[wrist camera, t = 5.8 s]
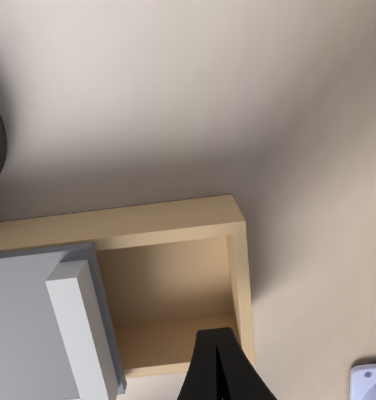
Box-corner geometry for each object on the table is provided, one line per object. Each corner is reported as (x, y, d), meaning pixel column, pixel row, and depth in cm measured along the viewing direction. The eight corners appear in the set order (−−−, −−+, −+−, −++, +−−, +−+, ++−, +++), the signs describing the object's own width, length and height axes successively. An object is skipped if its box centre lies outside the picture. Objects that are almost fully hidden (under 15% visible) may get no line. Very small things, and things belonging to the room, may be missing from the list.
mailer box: (232, 194, 18) (245, 220, 14) (241, 313, 20) (255, 364, 16) (-15, 223, 18) (-68, 257, 14) (25, 337, 20) (-11, 393, 16)
